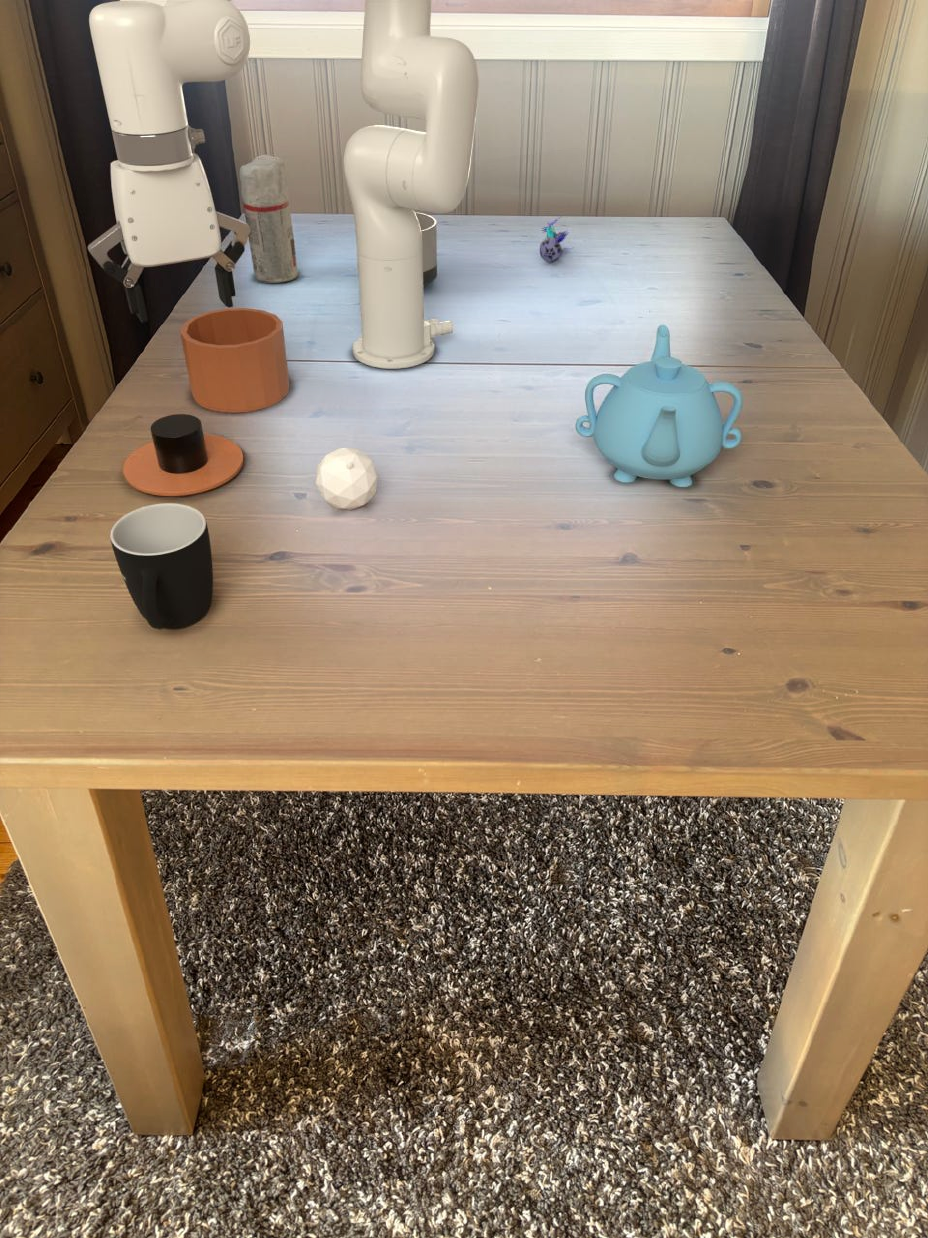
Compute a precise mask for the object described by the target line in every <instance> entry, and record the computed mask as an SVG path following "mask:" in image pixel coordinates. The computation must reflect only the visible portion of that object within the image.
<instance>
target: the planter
mask: <svg viewBox="0 0 928 1238" xmlns="http://www.w3.org/2000/svg"><path fill="white" fill-rule="evenodd" d="M414 212H415V214H416V216H417V219H418V221H419V224H420V228H421V232H422V241H423V287H424V286H426V285H429V284H430V283H432V282H434V281H435V280H436V279H437V277H438V238H437V236H438V233H437V232H438V231H437V228H438V227H437V226H438V225H437V223H438V222H437V220H436V218H434V217H433V216H431V215H429V214H426V213H422V212H416V211H414Z"/></svg>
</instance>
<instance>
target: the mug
mask: <svg viewBox="0 0 928 1238" xmlns="http://www.w3.org/2000/svg"><path fill="white" fill-rule="evenodd" d="M109 538H110V544H111V548H112V551H113V554H114V557H115V560H116V563H117V566H118V568H119V571H120V573H121V576H122V578H123V581H124V584H125V586H126V589H127V591H128V593H129V595H130V597H131V599H132V601H133V603H134V604H135V606H136V608H137V611H138V612H139V614H140V615H141V616H142V617H143V618H144V619H145V620H146V621H147V624H148V625H149V626H150V627H151V628H153V629H155V630H163V629H164V630H180V629H185V628H188V627H190V626H193V625H195V624H197V623H198V622H200V621H201V620H202V619H203V618H204V617H205V616H206V615H207V614H208V612H209V610H210V608H211V606H212V602H213V596H214V566H213V554H212V546H211V540H210V531H209V527H208V524H207V519H206V517H205V516H204V513H202V512H201V511H200V510H198V509H196V508H195V507H193V506H190V505H186V504H183V503H173V502H167V503H165V502H163V503H155V504H149V505H146V506H142V507H139V508H137V509H136V508H135V509H134V510H132V511H130V512H128V513H126V514H125V515H123V516H122V517H120V518H119V519H118V520H116V522H115V523H114V524H113V526H112V527H111V529H110V535H109Z"/></svg>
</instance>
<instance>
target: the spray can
mask: <svg viewBox="0 0 928 1238" xmlns="http://www.w3.org/2000/svg"><path fill="white" fill-rule="evenodd" d="M285 168H286V167H285V163H284V161H283V159H281V158H280V157H276V156H272V155H271V154H260V155H258V156H257V157H255V158H253V160H252V162H251V161H250V162H249V163H247V164H243V165H241V167H239V179H240V180H239V181H240V193H241V201H242V205H243V213H244V219H245V223H247V224H248V225H249V226H250V233H249V236H248V242H249V243H248V244H249V249H250V254H251V262H252V269H253V273H254V276H255V280H257V281H259V282H262V283H265V284H279V283H281V284H282V283H285V282H289V281H292V280H296V279H297V278H298V277H299V271H298V263H297V255H296V253H297V252H296V245H295V239H294V229H293V222H292V215H291V208H290V207H291V206H290V199H289V193H288V188H287V187H288V183H287V177H286V169H285Z"/></svg>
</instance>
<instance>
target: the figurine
mask: <svg viewBox="0 0 928 1238" xmlns="http://www.w3.org/2000/svg"><path fill="white" fill-rule="evenodd" d="M561 217H562V216H560V217H558V218H556V219H554V220H553V221H551V222H547V223H546V226H544V227H542V228H541V232H542V233H546V238H544V239H543V240H542V241H541V242H540V246H539V254H540V257H541V258H542V259H543V260H544V261H545V262H546V263H548V264H550V263H554V262H555V261H557V260H559V259H560V257H562V254H563V251H567V250H572V249H573V247H565V248H562V246H561V244H560V243H562V242H563V241H565V240H566V238H567V237H568V235H569V233H570V232H568V231H569V230H568V229H567V230H563V231H559V232H558V233H557V232H556V230H555V226H554V224H556V222H558V220H560V219H561Z"/></svg>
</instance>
